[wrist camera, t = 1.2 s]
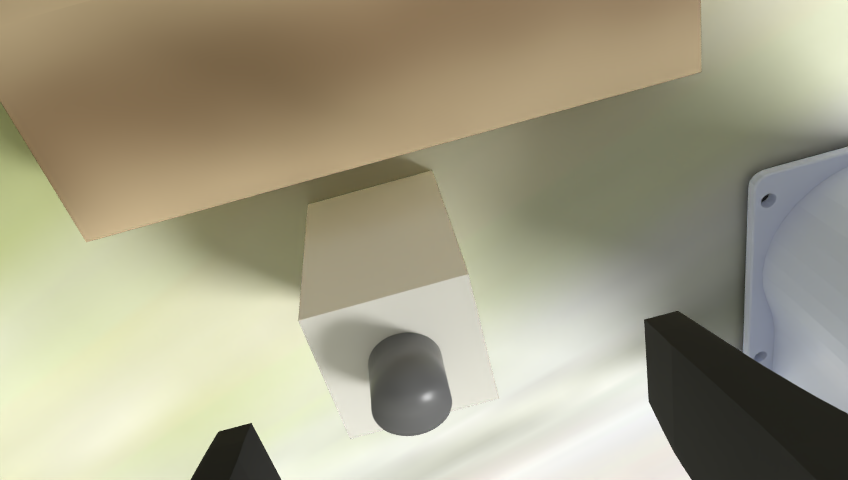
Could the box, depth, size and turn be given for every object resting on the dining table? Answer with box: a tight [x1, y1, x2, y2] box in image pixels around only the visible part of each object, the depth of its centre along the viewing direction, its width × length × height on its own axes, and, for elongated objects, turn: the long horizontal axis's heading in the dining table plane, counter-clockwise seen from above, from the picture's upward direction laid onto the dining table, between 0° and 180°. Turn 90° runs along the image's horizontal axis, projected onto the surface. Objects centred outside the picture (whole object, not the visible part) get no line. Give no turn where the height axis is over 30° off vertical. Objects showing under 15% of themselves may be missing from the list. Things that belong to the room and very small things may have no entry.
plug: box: [298, 170, 499, 439], centre depth 17 cm, size 4×4×8 cm
